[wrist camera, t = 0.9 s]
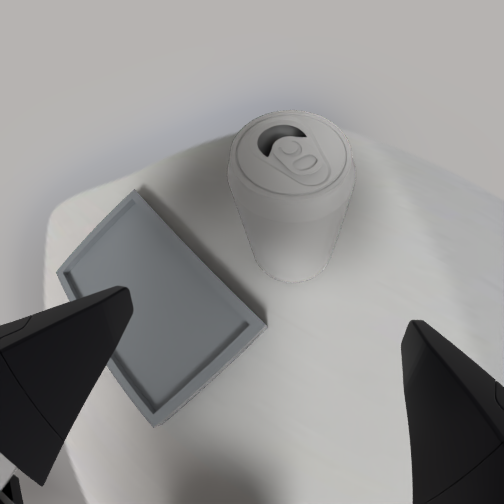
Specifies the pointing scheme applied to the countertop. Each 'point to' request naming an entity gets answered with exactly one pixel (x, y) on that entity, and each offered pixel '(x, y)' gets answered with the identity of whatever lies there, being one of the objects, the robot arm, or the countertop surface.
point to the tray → (160, 308)
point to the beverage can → (291, 190)
